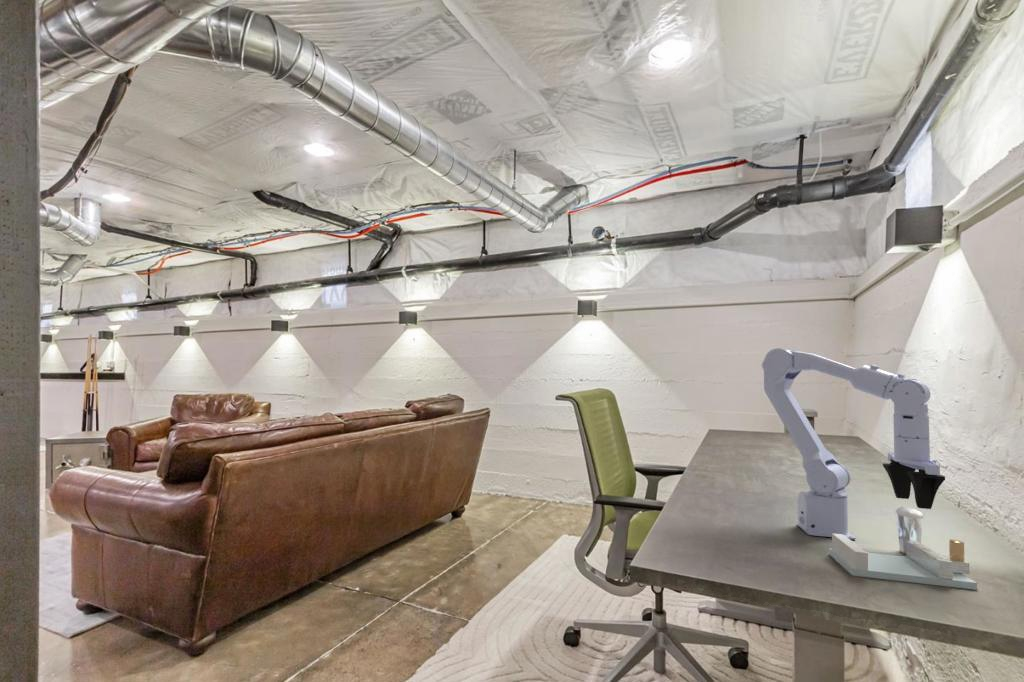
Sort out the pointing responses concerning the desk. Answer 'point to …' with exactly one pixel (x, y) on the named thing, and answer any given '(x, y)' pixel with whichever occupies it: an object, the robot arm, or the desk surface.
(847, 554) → the pale blue stepped plate
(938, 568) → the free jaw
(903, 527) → the milkshake
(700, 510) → the desk surface
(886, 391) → the robot arm
